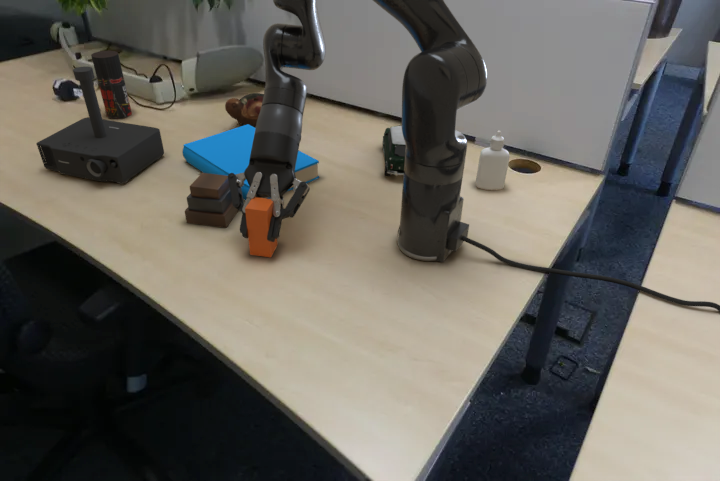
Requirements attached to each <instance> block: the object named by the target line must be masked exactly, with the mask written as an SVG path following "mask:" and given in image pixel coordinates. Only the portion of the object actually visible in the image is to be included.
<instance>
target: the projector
mask: <svg viewBox="0 0 720 481" xmlns="http://www.w3.org/2000/svg"><path fill="white" fill-rule="evenodd" d="M72 73H73V76H74V79H75V81H77V82H79V86H80V89H81V93H82V96H83V100H84V102H85V108H86V110H87V111H86V112H87V114H88V116H87V117H84V118H81V119H79V120H77V121H75V122H73V123H72V124H70V125H68V126H66V127H64V128H62V129H60V130H58V131H56V132H55V133H52V134H50V135H49V136H47V137H45V138H43V139H41V140H39V141H37V142H36V146H37V150H38V152H39V154H40V155H39V156H40V159H41V160H42V164H43V167H44V168H45V169H47V170H50V171H53V172H59V174H61V175H65V176H71V177H75V178H81V179H86V180H92V181H96V182H102V183H104V182H106V183H107V182H114V183H117V184H125V183H127V182H129V181H130V180H131V179H133V178H134V177H135V176H136V175H137V174H140V172H142V171H143V170H144V169H146V168H147V167H149V166H150V165H152V164H153V163H154V162H156V161H157V160H160V159H161V158H162V157H163V155H164V154H165V149H164V144H163V139H162V135H161V130H160V128H157V127H153V126H149V125H148V126H147V125H141V124H136V123H129V122H122V121H116V120H111V119H110V120H109V119H104V118H103V115H102V112H101V108H100V104H99V100H98V97H97V93H96V89H95V86H94V82H93V80H94V79H95V77H96V75H95V73H94V68H93V67H92V66H78V67H75V68H73V69H72Z"/></svg>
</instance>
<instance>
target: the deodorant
mask: <svg viewBox="0 0 720 481" xmlns="http://www.w3.org/2000/svg"><path fill="white" fill-rule="evenodd" d="M90 56H91V60H92V64H93V69H94V72H95V77H96V80H97V84H98V87H99V90H100V95H101V99H102V104H103V107H104V110H105V115H106V117H107V118H108V119H110V120H121V119H125V118H128V117H130V116H132V115H133V112H132V108H131V103H130V99H129V94H128V90H127V86H126V81H125V77H124V72H123V69H122V64H121V60H120V55H119V52H118V51H115V50H100V51H96V52H93V53H91V54H90Z"/></svg>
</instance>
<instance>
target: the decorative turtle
mask: <svg viewBox="0 0 720 481" xmlns="http://www.w3.org/2000/svg"><path fill="white" fill-rule="evenodd" d="M263 96H264V93H258V92H257V93H256V92H253V93H249V94H245V95H244V96H242V97H241V98H236V97H231V98H229V99H227V100H226V102H225V104H224V108H225V111H226V112H227V115H229V116H230V117H231V118H232V119H234V120H236V122H237V123H238V124H239V125H241V126H244V125H247V124H249V125H251V126H253V127H254V128H256V123H257V119H258V116H259V113H260V110H261V106H262V101H263Z"/></svg>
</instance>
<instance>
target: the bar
mask: <svg viewBox="0 0 720 481" xmlns="http://www.w3.org/2000/svg"><path fill="white" fill-rule="evenodd" d="M245 213H246V222H247V229H248V238H247V239H248V248H249V255H250V256H257V257H265V258H272V256H273V254H274V253H275V250H276V249H277V247H278V244H279V243H278V239H275V241H274V242H270V241H268V240H267V235H268V231H269V226H270V221H271V217H273V201H272V200H271V199H266V198H258V197H255V198H254V199H251V200H250V202H249V203H248V205H247V206H246V208H245Z"/></svg>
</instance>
